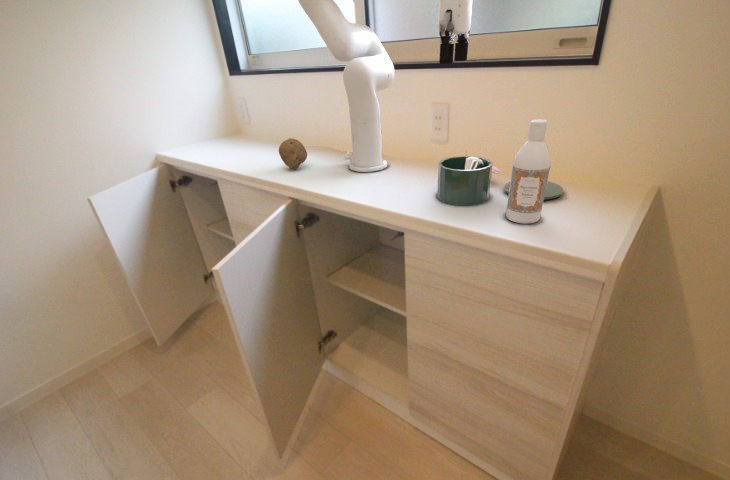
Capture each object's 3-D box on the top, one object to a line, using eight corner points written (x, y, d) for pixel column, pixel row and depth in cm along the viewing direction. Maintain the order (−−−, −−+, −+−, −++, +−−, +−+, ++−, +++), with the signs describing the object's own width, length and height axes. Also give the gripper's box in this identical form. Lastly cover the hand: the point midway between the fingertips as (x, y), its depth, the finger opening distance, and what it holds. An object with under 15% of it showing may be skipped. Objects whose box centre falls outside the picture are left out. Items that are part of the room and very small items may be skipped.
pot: (429, 201, 91) (430, 167, 86) (447, 185, 100) (449, 154, 95) (480, 208, 85) (483, 172, 80) (494, 191, 94) (498, 158, 89)
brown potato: (302, 163, 129) (298, 134, 124) (313, 168, 123) (309, 138, 117) (278, 168, 125) (272, 139, 120) (288, 174, 119) (283, 143, 113)
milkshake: (448, 189, 92) (463, 152, 92) (467, 197, 92) (482, 161, 92) (453, 186, 87) (469, 147, 87) (473, 195, 88) (489, 156, 88)
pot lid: (498, 197, 90) (501, 171, 86) (510, 181, 100) (514, 156, 96) (558, 205, 83) (564, 176, 80) (565, 186, 93) (571, 160, 90)
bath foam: (504, 222, 77) (518, 124, 67) (506, 210, 83) (519, 117, 72) (539, 226, 75) (560, 124, 65) (539, 213, 80) (558, 117, 70)
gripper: (456, -21, 88) (451, 60, 97) (427, -28, 76) (424, 65, 85) (487, -25, 85) (479, 59, 94) (462, -34, 72) (455, 64, 81)
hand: (453, 62), depth 89 cm, fingers open, 9 cm apart
